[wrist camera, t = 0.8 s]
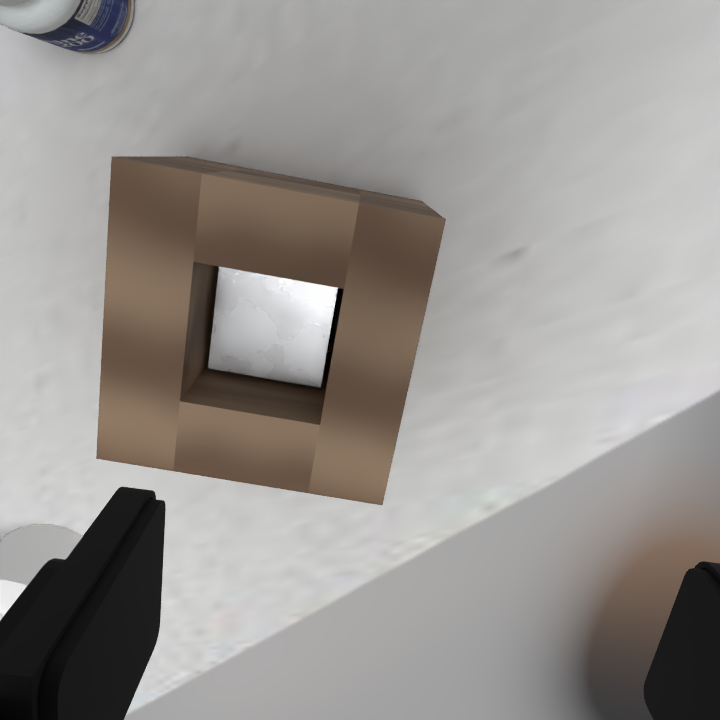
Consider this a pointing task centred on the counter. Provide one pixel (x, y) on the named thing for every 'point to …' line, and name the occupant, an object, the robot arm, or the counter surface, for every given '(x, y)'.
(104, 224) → the counter surface
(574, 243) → the counter surface
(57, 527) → the cylinder with rectangular tab
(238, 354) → the white marbled square tile
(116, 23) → the pill bottle
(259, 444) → the socket block
